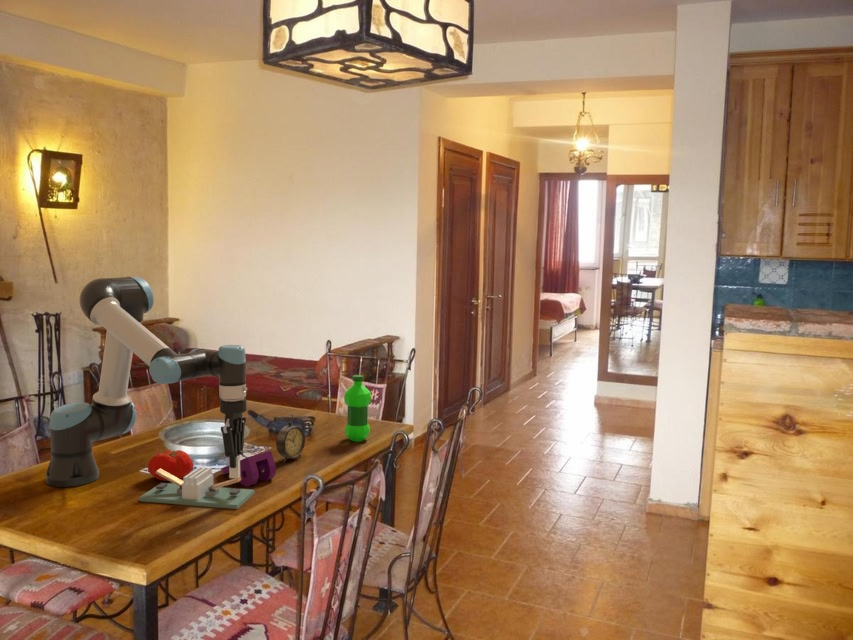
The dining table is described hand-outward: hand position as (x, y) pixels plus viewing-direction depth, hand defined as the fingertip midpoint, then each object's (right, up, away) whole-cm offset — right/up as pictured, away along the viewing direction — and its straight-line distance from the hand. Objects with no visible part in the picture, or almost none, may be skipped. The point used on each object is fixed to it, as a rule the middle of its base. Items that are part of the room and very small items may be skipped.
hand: (234, 477), depth 216 cm
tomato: (-25, -5, +19) cm, 32 cm away
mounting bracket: (-2, -5, +21) cm, 21 cm away
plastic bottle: (+30, 0, +68) cm, 74 cm away
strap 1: (-20, -2, +3) cm, 20 cm away
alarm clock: (+8, -3, +41) cm, 42 cm away
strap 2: (-3, -3, +1) cm, 4 cm away
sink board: (-12, -6, +2) cm, 14 cm away
